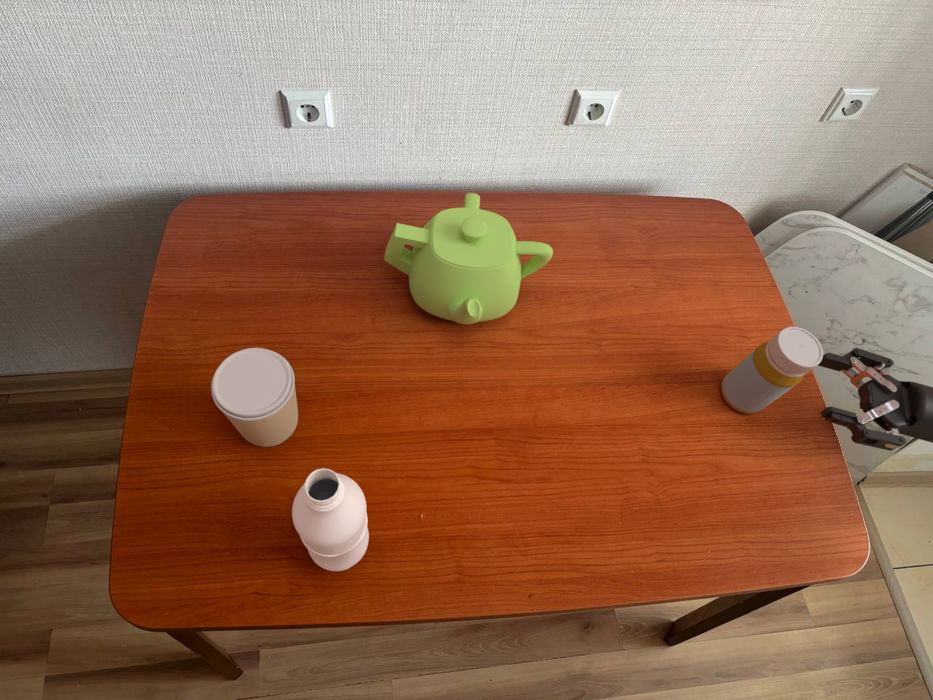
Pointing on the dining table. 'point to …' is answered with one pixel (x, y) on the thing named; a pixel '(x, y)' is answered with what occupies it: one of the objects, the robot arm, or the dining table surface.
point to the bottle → (771, 370)
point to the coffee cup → (257, 395)
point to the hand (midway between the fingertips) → (821, 384)
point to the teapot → (464, 262)
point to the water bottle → (331, 519)
